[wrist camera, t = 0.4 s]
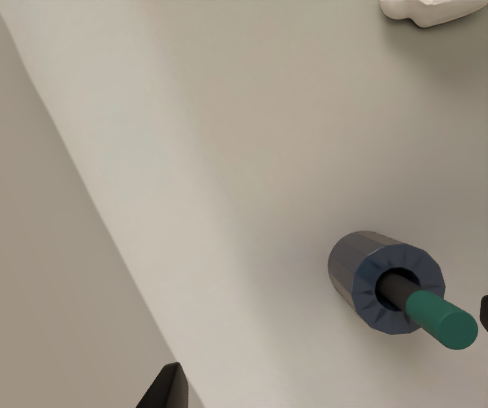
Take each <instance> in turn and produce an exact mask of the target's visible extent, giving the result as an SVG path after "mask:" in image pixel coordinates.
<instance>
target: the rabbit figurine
mask: <svg viewBox="0 0 488 408" xmlns="http://www.w3.org/2000/svg"><path fill="white" fill-rule="evenodd" d="M487 4H488V0H379V5H380V8H381V10H382V11H383V13H384V14H385V15H387V16H388V17H390V18H392V19H404V18H411V19H412V20H413V21H414V22H415V23H416V24H417V25H418V26H420V27H423V28H426V27H430V26H433V25H437V24H441V23H446V22H448V21H451V20H454V19H457V18H460V17H463V16H465V15H468V14H470V13H473V12H475V11H477V10H479V9H481V8H483V7H484V6H486V5H487Z"/></svg>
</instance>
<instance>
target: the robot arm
mask: <svg viewBox="0 0 488 408" xmlns="http://www.w3.org/2000/svg"><path fill="white" fill-rule="evenodd" d="M480 321H481V323H482V325H483V327H484V328H485V329H486V330H487V332H488V295H486V296H483V298H482V300H481V309H480ZM136 408H188V382H187V379H186V376H185V374H184V371H183V369H182V366H181V364H180V363H179V362H175V363H170V364H167V365H165V366H164V367H163V368H162V370H161V372H160V373H159V374H158V376H157V377H156V379H155V380H154V382H153V383H152V385H151V386H150V388H149V389H148V390H147V392H146V393H145V395H144V396H143V398H142V399H141V401H140V402H139V403H138V405H137V406H136Z"/></svg>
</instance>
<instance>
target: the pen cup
mask: <svg viewBox="0 0 488 408" xmlns="http://www.w3.org/2000/svg"><path fill="white" fill-rule="evenodd" d="M389 269H390V270H392V271H394V272H395V273H397V274H399V275H401V276H402V277H404V278H406V279H408V280H409V281H411V282H413V283H415V284H416V285H418V286H420V287H421V288H423V289H425V290H427V291H430V292H432V293H434V294H436V295H437V296H439V297H441V298H444V293H445V287H446V286H445V283H444V279H443V276H442V272H441V269H440V267H439V265H438V264H437V263H436V262H435V261H434V259H433V258H432V257H431V256H430V255H429V254H428V253H427V252H426V251H424V250H422V249H419V248H417V247H414V246H411V245H409V244H406V243H403V242H400V241H397V240H395V239H392V238H389V237H386V236H383V235H380V234H378V233H375V232H370V231H359V232H354V233H351V234H349V235H347V236H345V237H343V238H342V239H341V240H340V241H338V242H337V244H336V245H335V246H334V248H333V249H332V251H331V253H330V256H329V260H328V273H329V277H330V279H331V282H332V283H333V285H334V287H335V288H336V289H337V291H338V292H339V293H340V294H341V295H342V296H343V298H344V299H345V300H346V301H347V302H348V303H349V305H350V306H351V307H352V308H353V309H354V310H355V312H356V313H357V314H358V315H359V316H360V317H361V318H362V319H363V320H364V321H365V322H366V323H367V324H368V325H369V326H370V327H371V328H373V329H376V330H379V331H381V332H384V333H387V334H391V335H394V334H407V333H411V332H414V331H416V330H417V329H419V328H421V327H420V326H419V325H418V324H417V323H415V322H414V321H413V320H412V319H411V318H410V317H409V316H408V315H407V314H406V313H405V312H403V311H402V310H401V309H400V308H398V307H397V306H396V305H395V304H393V303H392V302H391V301H390V300H388V299H387V298H386V297H385V296H383V295H382V294H381V293H380V292H378V291H377V290H376V289H375V287H376V281H377V280H378V278H379V277H380V276H381V274H382V273H384V272H385V271H387V270H389Z"/></svg>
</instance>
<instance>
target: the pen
mask: <svg viewBox="0 0 488 408" xmlns="http://www.w3.org/2000/svg"><path fill="white" fill-rule="evenodd" d="M375 289H376V290H377V291H378V292H380V293H381V294H382V295H383V296H385V297H386V298H387V299H388V300H390V301H391V302H392V303H393V304H395V305H396V306H397V307H398V308H400V309H401V310H402V311H403V312H405V313H406V314H407V315H408V316H409V317H410V318H411V319H412V320H413V321H414V322H415V323H417V324H418V325H419V326H420V327H422V328H423V329H424V330H425V331H427V332H428V333H429V334H430V335H432V336H433V337H434V338H435V339H436V340H438V341H439V342H440V343H441V344H443V345H444V346H445V347H447V348H450V349H454V350H460V349H464V348H467V347H469V346H470V345H471V344H472V343H473V342H474V341H475V339H476V337H477V334H478V326H477V323H476V321H475V319H474V318H473V317H472V316H471V315H470V314H469V313H467V312H465V311H464V310H462V309H460V308H458V307H457V306H455V305H453V304H451V303H450V302H448V301H446V300H444V299H443V298H441V297H439V296H437V295H436V294H434V293H432V292H430V291H427V290H425V289H423V288H421V287H420V286H418V285H416V284H415V283H413V282H411V281H409V280H408V279H406V278H404V277H402V276H401V275H399V274H397V273H395V272H394V271H392V270H390V269H389V270H387V271H385V272H384V273H382V274H381V276H380V277H379V278H378V280H377V281H376V287H375Z"/></svg>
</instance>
